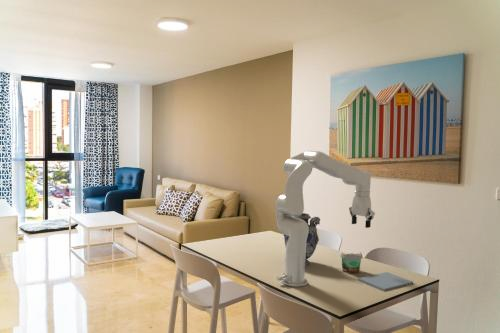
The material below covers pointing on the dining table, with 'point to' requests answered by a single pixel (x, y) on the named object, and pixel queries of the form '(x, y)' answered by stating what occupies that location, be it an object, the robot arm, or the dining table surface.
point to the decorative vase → (312, 235)
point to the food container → (351, 263)
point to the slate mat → (385, 281)
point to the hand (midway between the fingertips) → (360, 225)
